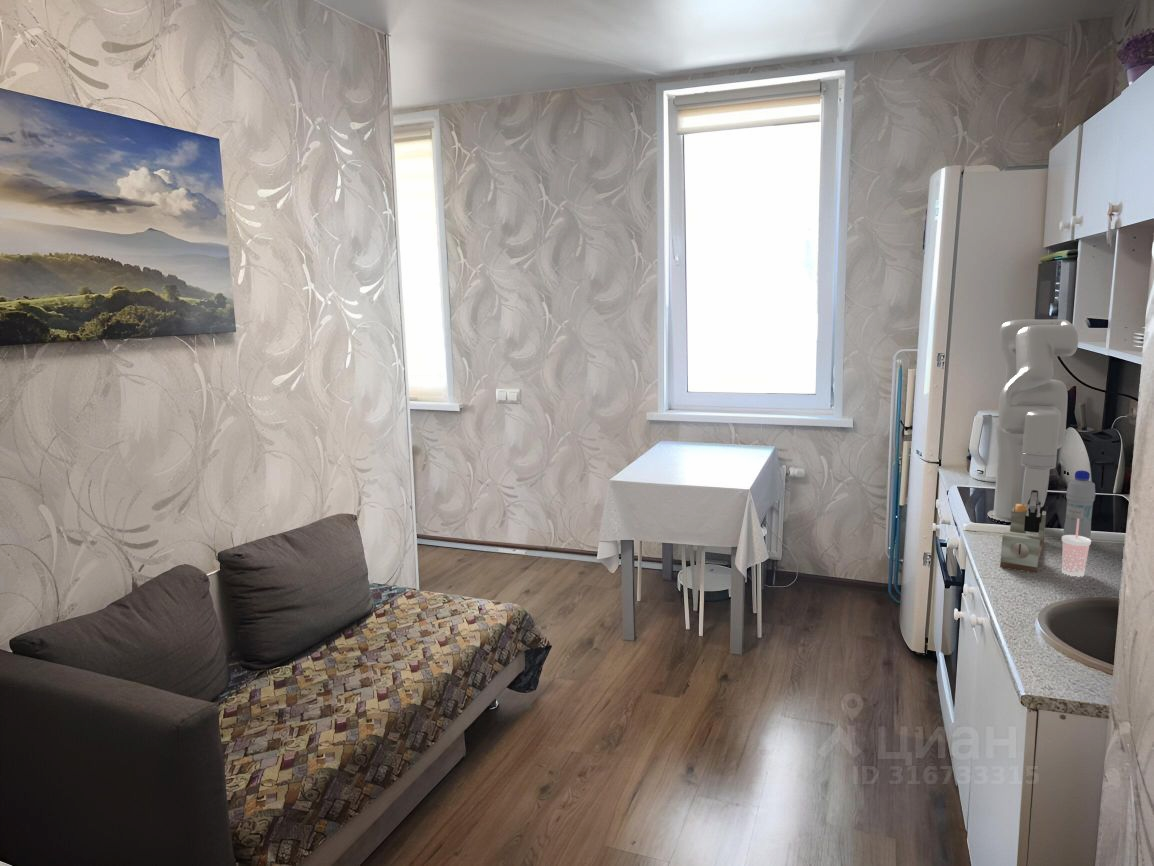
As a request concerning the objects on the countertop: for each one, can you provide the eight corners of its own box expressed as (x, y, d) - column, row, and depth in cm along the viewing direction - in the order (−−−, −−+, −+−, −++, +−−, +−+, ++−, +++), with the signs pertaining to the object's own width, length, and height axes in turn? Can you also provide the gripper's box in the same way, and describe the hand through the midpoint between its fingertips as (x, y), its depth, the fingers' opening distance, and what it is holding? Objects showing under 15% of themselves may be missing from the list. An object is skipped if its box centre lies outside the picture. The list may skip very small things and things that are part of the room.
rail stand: (1010, 536, 218) (1013, 507, 217) (1043, 541, 214) (1046, 511, 213) (999, 567, 195) (1002, 535, 194) (1036, 573, 191) (1039, 540, 189)
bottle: (1056, 540, 215) (1063, 469, 211) (1071, 535, 218) (1077, 466, 214) (1081, 546, 209) (1088, 474, 205) (1096, 542, 212) (1103, 471, 208)
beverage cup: (1071, 567, 194) (1076, 514, 192) (1093, 576, 188) (1099, 521, 186) (1052, 571, 192) (1057, 516, 190) (1074, 579, 187) (1080, 523, 184)
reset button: (1015, 517, 216) (1016, 503, 216) (1025, 518, 215) (1026, 504, 214) (1014, 519, 214) (1015, 505, 214) (1024, 520, 213) (1026, 506, 212)
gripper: (1024, 452, 203) (1018, 516, 206) (1018, 465, 188) (1012, 534, 192) (1057, 454, 199) (1051, 520, 202) (1054, 469, 184) (1047, 538, 188)
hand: (1032, 526), depth 197 cm, fingers open, 8 cm apart
